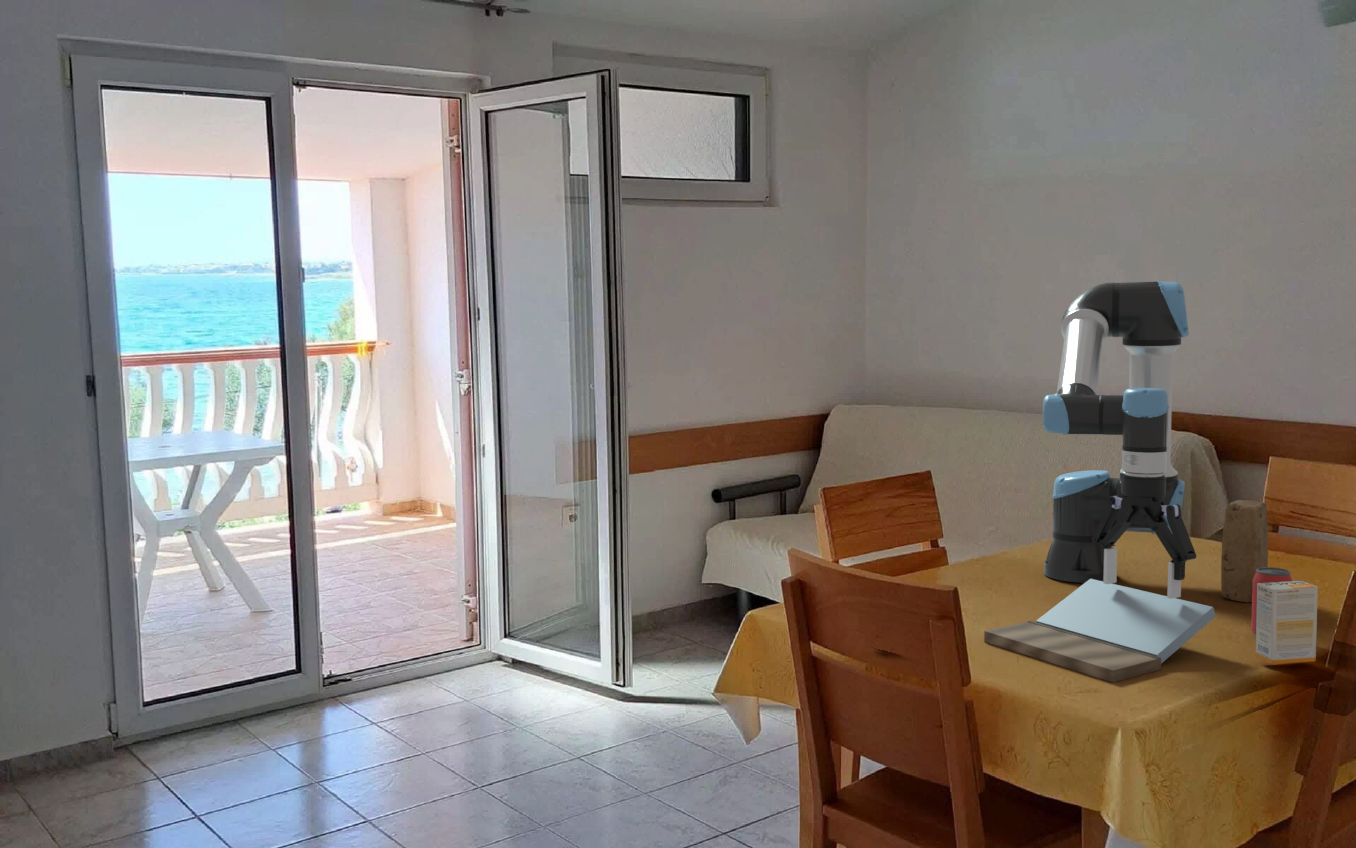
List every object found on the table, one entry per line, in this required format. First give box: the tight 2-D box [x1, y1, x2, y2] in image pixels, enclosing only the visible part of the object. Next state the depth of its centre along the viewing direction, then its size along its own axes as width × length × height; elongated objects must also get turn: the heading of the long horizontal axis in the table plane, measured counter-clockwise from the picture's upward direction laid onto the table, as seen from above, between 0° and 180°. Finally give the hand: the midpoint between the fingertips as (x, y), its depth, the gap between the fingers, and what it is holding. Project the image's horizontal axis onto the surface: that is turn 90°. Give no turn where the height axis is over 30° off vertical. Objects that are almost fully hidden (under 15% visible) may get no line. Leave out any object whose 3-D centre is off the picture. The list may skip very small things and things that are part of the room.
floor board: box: [983, 620, 1162, 683], centre depth 203 cm, size 28×12×2 cm, turn 31°
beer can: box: [1250, 566, 1293, 636], centre depth 213 cm, size 7×7×12 cm
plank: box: [1035, 579, 1216, 664], centre depth 210 cm, size 26×16×2 cm, turn 31°
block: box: [1220, 499, 1269, 603], centre depth 240 cm, size 11×8×20 cm
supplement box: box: [1255, 580, 1319, 665], centre depth 198 cm, size 8×5×13 cm, turn 97°
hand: (1141, 590), depth 212 cm, fingers open, 13 cm apart
